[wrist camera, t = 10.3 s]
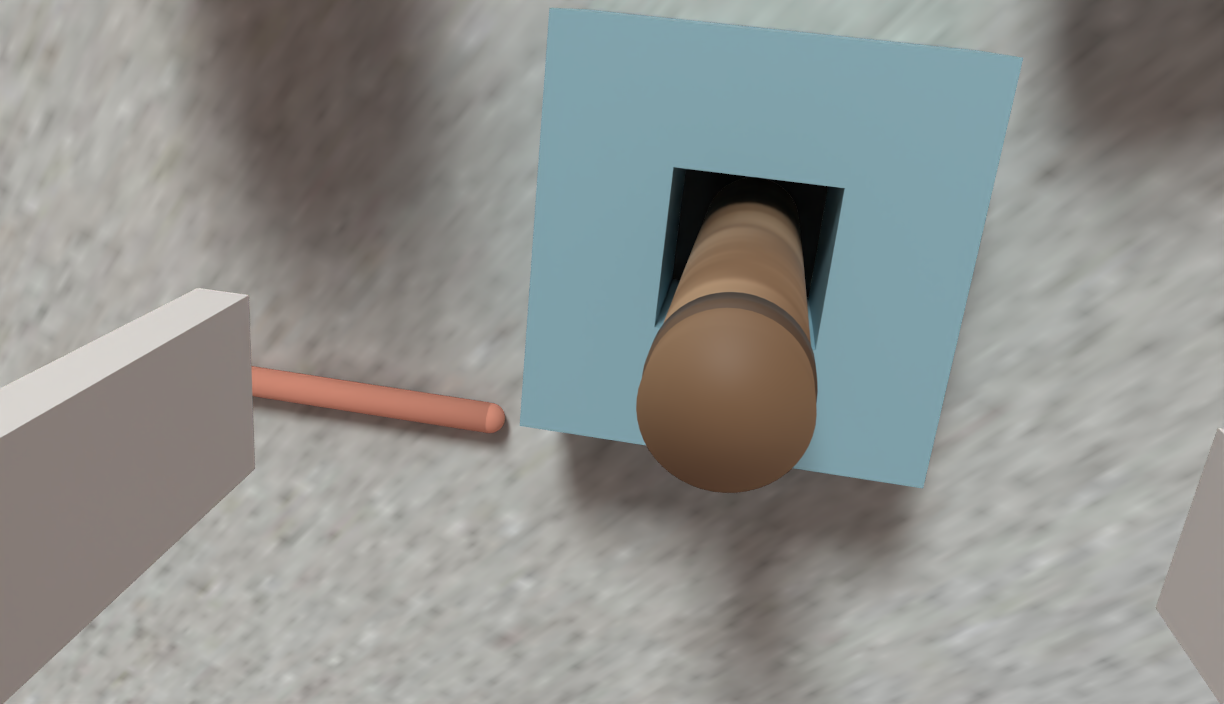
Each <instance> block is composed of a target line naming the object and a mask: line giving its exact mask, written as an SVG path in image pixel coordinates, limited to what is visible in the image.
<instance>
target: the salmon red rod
mask: <svg viewBox="0 0 1224 704" xmlns="http://www.w3.org/2000/svg"><path fill="white" fill-rule="evenodd" d="M251 368H252V396H255V397H262V398H268V399H274V400H281V401H287V402H294V403H300V404H306V405H313V406H319V407H325V408H332V409H338V410H345V411H351V412H357V413H364V414H370V415H376V416H383V417H389V418H396V419H402V420H408V421H415V422H421V423H427V424H434V425H440V426H447V427H453V428H459V429H466V430H472V431H478V432H485V433H494V432H496V431H498V430H500V429H501V428H502V426H503V425H504V422H505V414H504V411H503V409H502V408H501V407H500V406H499V405H497V404H494V403H489V402H483V401H476V400H470V399H463V398H456V397H450V396H443V395H437V394H430V393H424V392H417V391H411V390H404V389H398V388H391V387H385V386H378V385H372V384H365V383H359V382H352V381H346V380H339V379H332V378H326V377H319V376H313V375H306V374H300V373H293V372H287V371H280V370H274V369H267V368H261V367H254V366H251Z"/></svg>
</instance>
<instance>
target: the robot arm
mask: <svg viewBox="0 0 1224 704" xmlns="http://www.w3.org/2000/svg"><path fill="white" fill-rule="evenodd" d="M254 469H255V453H254V424H253V396H252V368H251V340H250V312H249V295H245V294H238V293H231V292H223V291H216V290H209V289H202V288H197V289H195V290H193V291H191V292H189V293H187V294H185V295H183V296H181V297H179V298H177V299H175V300H173V301H171V302H169V303H167V304H165V305H163V306H161V307H159V308H157V309H155V310H153V311H151V312H149V313H147V314H145V315H143V316H142V317H140V318H138V319H136V320H134V321H132V322H130V323H128V324H126V325H124V326H122V327H120V328H118V329H116V330H114V331H112V332H110V333H108V334H106V335H104V336H102V337H100V338H98V339H96V340H94V341H92V342H90V343H88V344H86V345H84V346H82V347H81V348H79V349H77V350H75V351H73V352H71V353H69V354H67V355H65V356H63V357H61V358H59V359H57V360H55V361H53V362H51V363H49V364H47V365H45V366H43V367H41V368H39V369H37V370H35V371H33V372H31V373H29V374H27V375H25V376H23V377H22V378H20V379H18V380H16V381H14V382H12V383H10V384H8V385H6V386H4V387H2V388H0V704H3V703H4V702H5V701H6V700H8V699H9V698H10V697H11V696H12V695H13V694H14V693H15V692H16V691H17V690H18V689H19V688H20V687H21V686H23V685H24V684H25V683H26V682H27V681H28V680H29V679H30V678H31V677H32V676H33V675H34V674H35V673H37V672H38V671H39V670H40V669H41V668H42V667H43V666H44V665H45V664H46V663H47V662H48V661H49V660H50V659H52V658H53V657H54V656H55V655H56V654H57V653H58V652H59V651H60V650H61V649H62V648H63V647H64V646H65V645H67V644H68V643H69V642H70V641H71V640H72V639H73V638H74V637H75V636H76V635H77V634H78V633H79V632H80V631H82V630H83V629H84V628H85V627H86V626H87V625H88V624H89V623H90V622H91V621H92V620H93V619H94V618H95V617H97V616H98V615H99V614H100V613H101V612H102V611H103V610H104V609H105V608H106V607H107V606H108V605H109V604H111V603H112V602H113V601H114V600H115V599H116V598H117V597H118V596H119V595H120V594H121V593H122V592H123V591H124V590H126V589H127V588H128V587H129V586H130V585H131V584H132V583H133V582H134V581H135V580H136V579H137V578H138V577H139V576H141V575H142V574H143V573H144V572H145V571H146V570H147V569H148V568H149V567H150V566H151V565H152V564H153V563H154V562H156V561H157V560H158V559H159V558H160V557H161V556H162V555H163V554H164V553H165V552H166V551H167V550H168V549H169V548H171V547H172V546H173V545H174V544H175V543H176V542H177V541H178V540H179V539H180V538H181V537H182V536H183V535H185V534H186V533H187V532H188V531H189V530H190V529H191V528H192V527H193V526H194V525H195V524H196V523H197V522H198V521H200V520H201V519H202V518H203V517H204V516H205V515H206V514H207V513H208V512H209V511H210V510H211V509H212V508H213V507H215V506H216V505H217V504H218V503H219V502H220V501H221V500H222V499H223V498H224V497H225V496H226V495H227V494H228V493H230V492H231V491H232V490H233V489H234V488H235V487H236V486H237V485H238V484H239V483H240V482H241V481H242V480H243V479H245V478H246V477H247V476H248V475H249V474H250V473H251V472H252V471H253V470H254ZM1156 609H1157V611H1158V612H1159V614H1160V615H1161V617H1162V618H1163V620H1164V621H1165V623H1166V624H1167V626H1168V627H1169V629H1170V630H1171V632H1172V633H1173V635H1174V636H1175V638H1176V639H1177V640H1178V642H1179V643H1180V645H1181V646H1182V648H1183V649H1184V651H1185V652H1186V654H1187V655H1188V657H1189V658H1190V660H1191V661H1192V663H1193V664H1194V666H1195V667H1196V669H1197V670H1198V672H1199V673H1200V675H1201V676H1202V678H1203V679H1204V681H1205V682H1206V683H1207V685H1208V686H1209V688H1210V689H1211V691H1212V692H1213V694H1214V695H1215V697H1216V698H1217V700H1218V701H1219V703H1220V704H1224V429H1222V428H1218V429H1217V432H1216V435H1215V437H1214V440H1213V443H1212V446H1211V449H1210V452H1209V455H1208V458H1207V461H1206V463H1205V466H1204V469H1203V472H1202V475H1201V478H1200V481H1199V484H1198V487H1197V489H1196V492H1195V495H1194V498H1193V501H1192V504H1191V507H1190V510H1189V513H1188V515H1187V518H1186V521H1185V524H1184V527H1183V530H1182V533H1181V536H1180V539H1179V541H1178V544H1177V547H1176V550H1175V553H1174V556H1173V559H1172V562H1171V565H1170V567H1169V570H1168V573H1167V576H1166V579H1165V582H1164V585H1163V588H1162V591H1161V594H1160V596H1159V599H1158V602H1157V605H1156Z"/></svg>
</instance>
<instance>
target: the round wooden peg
mask: <svg viewBox="0 0 1224 704" xmlns="http://www.w3.org/2000/svg"><path fill="white" fill-rule="evenodd" d="M817 394H818V385H817V372H816V363H815V357H814V353H813V350H812V347H811V340H810V329H809V318H808V307H807V296H806V286H805V275H804V264H803V253H802V242H801V231H800V220H799V213H798V210H797V206H796V204H795V202H794V200H793V199H792V197H791V196H790V194H789V193H788V192H787V191H786V190H785V189H784V188H783V187H781V186H780V185H778V184H777V183H775V182H773V181H770V180H767V179H764V178H757V177H750V178H743V179H739V180H736V181H734V182H732V183H730V184H728V185H726V186H725V187H724V188H722V189H721V190H720V191H719V192H718V193H717V194H716V196H715V197H714V198H713V200H712V201H711V204H710V206H709V208H708V210H707V213H706V215H705V218H704V221H703V223H702V226H701V228H700V231H699V233H698V236H697V238H696V241H695V244H694V246H693V249H692V251H691V254H690V256H689V259H688V261H687V264H686V267H685V269H684V272H683V274H682V277H681V279H680V282H679V284H678V287H677V290H676V292H675V295H674V297H673V300H672V302H671V305H670V307H669V310H668V313H667V315H666V318H665V320H664V323H663V325H662V326H661V328H660V329H659V331H658V332H657V334H656V336H655V338H654V340H653V343H652V345H651V348H650V350H649V353H648V355H647V358H646V361H645V364H644V368H643V374H642V379H641V382H640V385H639V388H638V394H637V402H636V412H637V421H638V425H639V429H640V432H641V435H642V438H643V440H644V442H645V444H646V446H647V448H648V449H649V451H650V452H651V454H652V455H653V456H654V458H655V459H656V460H657V461H658V462H659V463H660V464H661V465H662V467H664V468H665V469H666V470H667V471H668V472H670V473H671V474H672V475H674V476H675V477H677V478H678V479H680V480H681V481H684V482H686V483H688V484H690V485H692V486H695V487H698V488H700V489H704V490H708V491H713V492H722V493H737V492H745V491H750V490H754V489H758V488H760V487H763V486H766V485H768V484H770V483H772V482H774V481H776V480H778V479H779V478H781V477H782V476H783V475H785V474H786V473H787V472H789V471H790V470H791V469H792V468H793V467H794V466H795V465H796V464H797V463H798V461H799V460H800V459H801V458H802V456H803V455H804V453H805V452H806V450H807V448H808V446H809V444H810V442H811V439H812V437H813V433H814V430H815V426H816V417H817V409H816V403H817Z"/></svg>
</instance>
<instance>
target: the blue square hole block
mask: <svg viewBox="0 0 1224 704" xmlns="http://www.w3.org/2000/svg"><path fill="white" fill-rule="evenodd" d="M1022 61H1023V58H1021V57H1015V56H1009V55H1002V54H996V53H990V52H984V51H977V50H967V49H958V48H948V47H939V46H929V45H920V44H910V43H901V42H891V41H882V40H872V39H863V38H853V37H844V36H834V35H825V34H815V33H806V32H796V31H787V30H777V29H768V28H758V27H749V26H739V25H730V24H720V23H711V22H701V21H692V20H682V19H673V18H663V17H654V16H644V15H635V14H625V13H616V12H606V11H597V10H587V9H566V8H550V9H549V23H548V37H547V51H546V65H545V79H544V93H543V107H542V121H541V135H540V149H539V163H538V177H537V191H536V205H535V219H534V233H533V247H532V261H531V275H530V289H529V303H528V317H527V331H526V345H525V359H524V373H523V387H522V401H521V416H520V426H525V427H531V428H538V429H544V430H550V431H557V432H563V433H570V434H576V435H583V436H589V437H595V438H602V439H608V440H615V441H621V442H628V443H634V444H641V445H646V444H645V442H644V440H643V438H642V435H641V432H640V429H639V425H638V421H637V412H636V402H637V394H638V388H639V385H640V382H641V379H642V374H643V368H644V364H645V361H646V358H647V355H648V353H649V350H650V348H651V345H652V343H653V340H654V338H655V336H656V334H657V332H658V331H659V329H660V328H661V326H662V325H663V323H664V320H665V318H666V315H667V313H668V310H669V307H670V305H671V302H672V300H673V297H674V295H675V292H676V290H677V287H678V284H679V282H680V280H675V279H672V278H673V270H674V262H675V253H676V245H677V237H678V229H679V221H680V213H681V205H682V197H683V189H684V180H685V172H686V169H693V170H701V171H709V172H717V173H725V174H734V175H742V176H750V177H758V178H766V179H774V180H782V181H791V182H799V183H807V184H815V185H823V186H828V188H827V194H826V200H825V205H824V211H823V217H822V223H821V228H820V234H819V240H818V246H817V251H816V257H815V263H814V269H813V274H812V280H811V286H810V291H809V297H808V298H807V307H808V318H809V329H810V340H811V347H812V350H813V353H814V357H815V363H816V372H817V385H818V394H817V403H816V409H817V417H816V426H815V430H814V433H813V437H812V439H811V442H810V444H809V446H808V448H807V450H806V452H805V453H804V455H803V456H802V458H801V459H800V460H799V461H798V463H797V464H796V465H795V466H794V467H793V468H795V469H801V470H808V471H814V472H821V473H827V474H834V475H840V476H846V477H853V478H859V479H866V480H872V481H879V482H885V483H891V484H898V485H904V486H911V487H917V488H923V486H924V482H925V478H926V473H927V469H928V465H929V461H930V456H931V452H932V448H933V443H934V439H935V435H936V430H937V426H938V422H939V418H940V413H941V409H942V405H943V400H944V396H945V392H946V387H947V383H948V379H949V375H950V370H951V366H952V362H953V357H954V353H955V349H956V345H957V340H958V336H959V332H960V327H961V323H962V319H963V314H964V310H965V306H966V302H967V297H968V293H969V289H970V284H971V280H972V276H973V271H974V267H975V263H976V259H977V254H978V250H979V246H980V241H981V237H982V233H983V229H984V224H985V220H986V216H987V211H988V207H989V203H990V198H991V194H992V190H993V186H994V181H995V177H996V173H997V168H998V164H999V160H1000V155H1001V151H1002V147H1003V143H1004V138H1005V134H1006V130H1007V125H1008V121H1009V117H1010V112H1011V108H1012V104H1013V100H1014V95H1015V91H1016V87H1017V82H1018V78H1019V74H1020V70H1021V65H1022Z"/></svg>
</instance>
